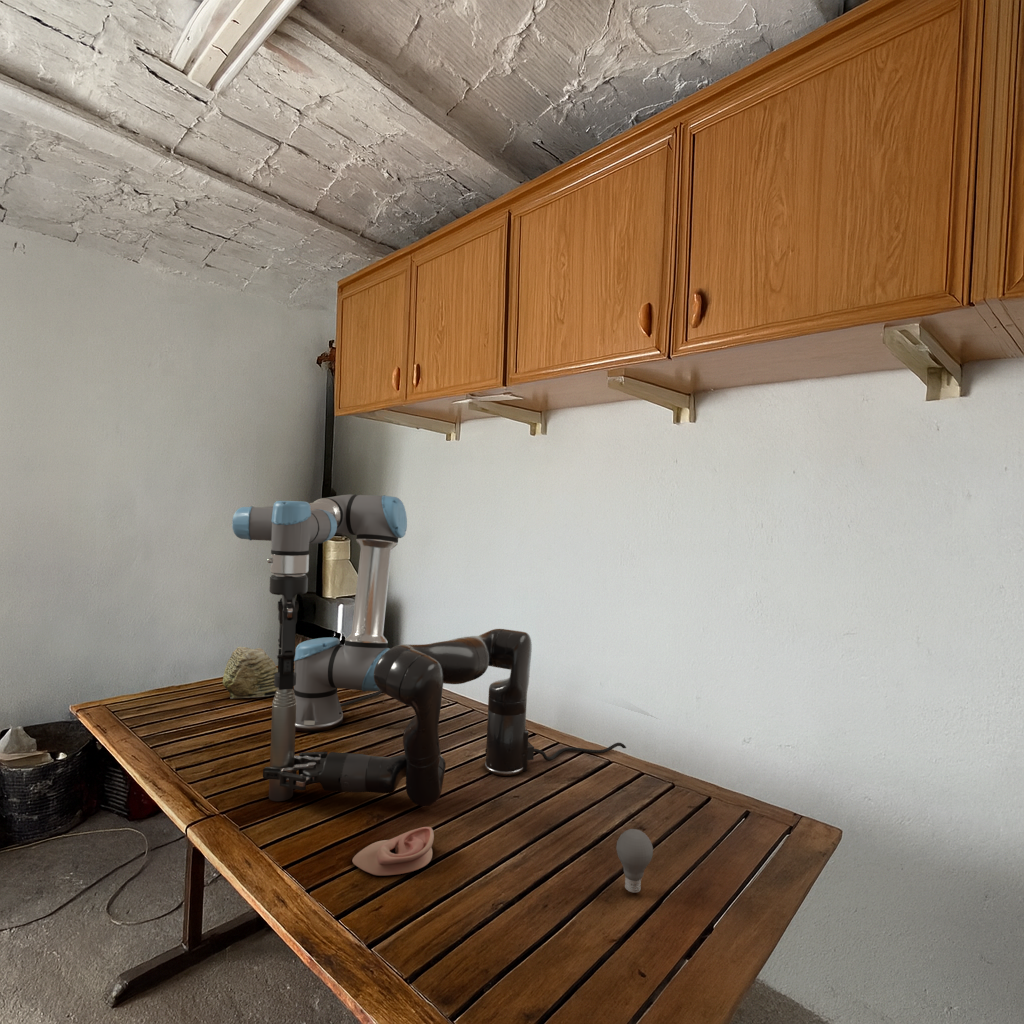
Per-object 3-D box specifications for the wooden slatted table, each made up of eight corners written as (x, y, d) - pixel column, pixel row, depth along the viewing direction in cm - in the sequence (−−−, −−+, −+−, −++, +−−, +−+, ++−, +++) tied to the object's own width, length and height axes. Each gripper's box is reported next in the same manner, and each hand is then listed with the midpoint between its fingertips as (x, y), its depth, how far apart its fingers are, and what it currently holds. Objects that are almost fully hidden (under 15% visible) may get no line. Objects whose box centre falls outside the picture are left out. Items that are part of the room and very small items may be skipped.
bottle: (263, 798, 132) (268, 677, 132) (280, 789, 136) (284, 672, 136) (281, 803, 130) (286, 680, 130) (297, 793, 135) (302, 675, 134)
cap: (286, 689, 130) (287, 678, 130) (269, 686, 132) (269, 675, 131) (300, 683, 134) (300, 672, 134) (283, 680, 136) (283, 670, 136)
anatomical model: (344, 847, 108) (373, 814, 119) (343, 870, 108) (372, 835, 119) (418, 859, 105) (440, 825, 116) (417, 883, 105) (439, 846, 116)
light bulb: (610, 879, 108) (613, 822, 108) (644, 879, 109) (647, 822, 109) (619, 902, 102) (622, 840, 102) (655, 901, 103) (658, 840, 103)
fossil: (218, 695, 195) (220, 647, 195) (278, 685, 208) (279, 640, 207) (228, 703, 189) (230, 653, 188) (289, 692, 201) (290, 645, 201)
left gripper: (268, 569, 140) (264, 672, 140) (271, 580, 122) (267, 699, 122) (304, 568, 143) (300, 670, 143) (312, 580, 125) (307, 696, 125)
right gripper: (359, 741, 139) (284, 736, 140) (338, 769, 125) (254, 763, 126) (358, 775, 140) (282, 770, 141) (336, 806, 125) (252, 800, 126)
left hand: (285, 683), depth 133 cm, fingers open, 7 cm apart
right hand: (269, 767), depth 133 cm, fingers closed on bottle, 5 cm apart
